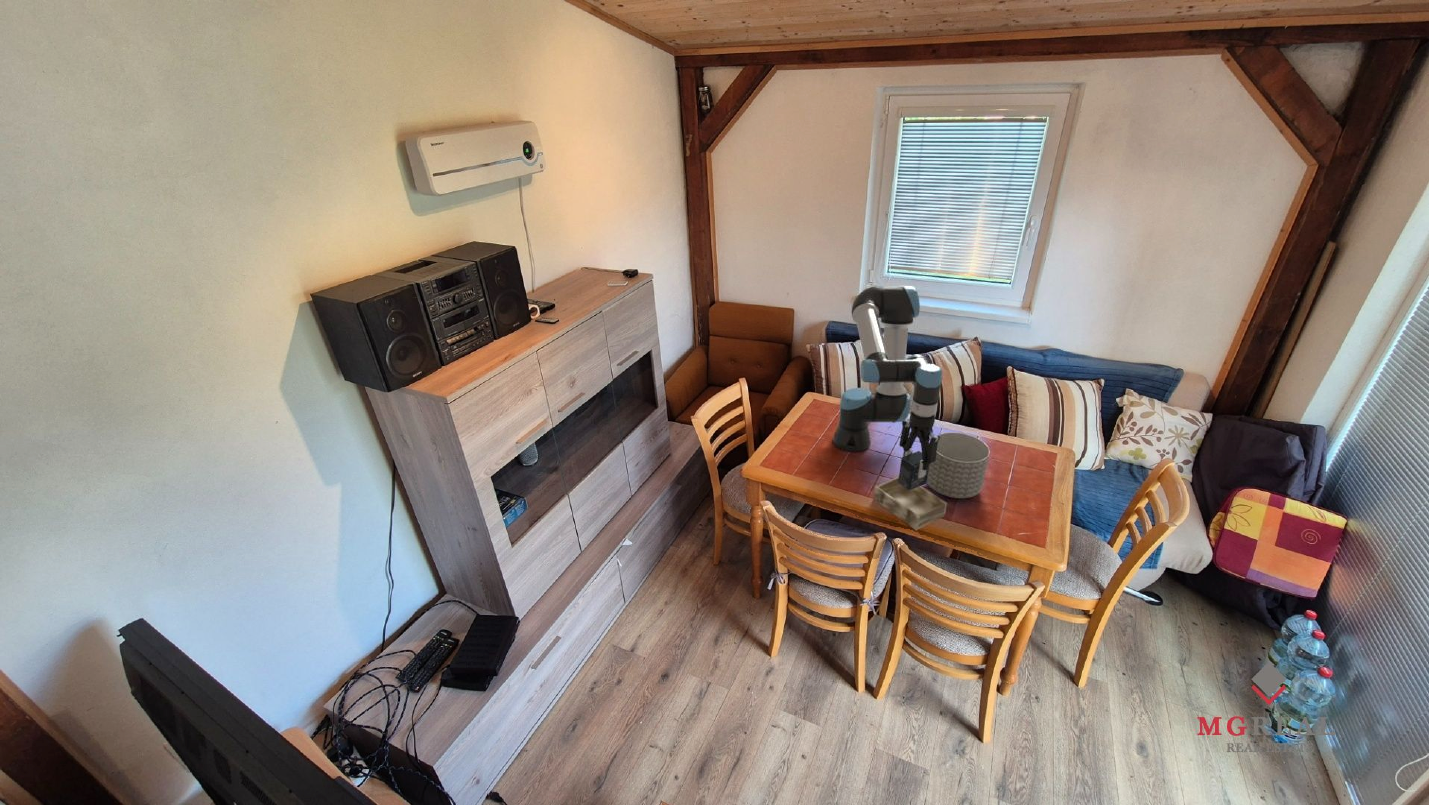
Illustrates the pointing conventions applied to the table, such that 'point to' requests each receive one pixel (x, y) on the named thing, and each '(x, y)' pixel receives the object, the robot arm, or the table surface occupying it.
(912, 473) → the box
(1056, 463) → the table surface
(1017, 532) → the table surface
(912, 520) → the crate
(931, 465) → the planter
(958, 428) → the table surface
